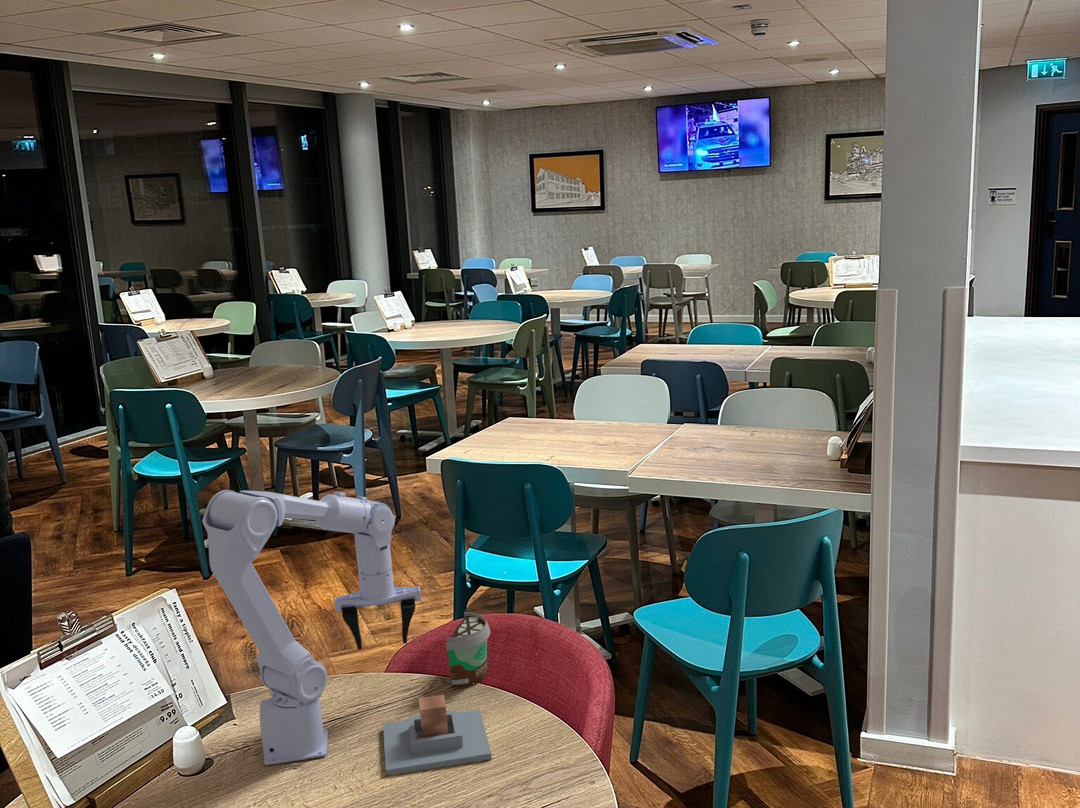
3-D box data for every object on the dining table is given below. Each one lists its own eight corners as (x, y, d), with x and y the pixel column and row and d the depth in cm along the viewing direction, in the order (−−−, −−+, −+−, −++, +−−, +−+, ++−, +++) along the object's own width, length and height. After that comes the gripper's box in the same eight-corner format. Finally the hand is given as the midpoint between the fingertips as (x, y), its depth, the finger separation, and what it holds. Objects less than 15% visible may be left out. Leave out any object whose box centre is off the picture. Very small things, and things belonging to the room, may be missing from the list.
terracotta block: (423, 745, 149) (420, 710, 148) (421, 732, 153) (418, 698, 152) (448, 741, 150) (445, 706, 149) (446, 729, 154) (443, 694, 153)
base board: (386, 776, 143) (384, 757, 143) (383, 729, 157) (382, 712, 156) (491, 759, 146) (490, 741, 146) (480, 714, 160) (478, 698, 159)
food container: (483, 693, 167) (479, 640, 165) (449, 692, 168) (445, 639, 166) (500, 661, 179) (496, 611, 177) (468, 660, 180) (464, 610, 178)
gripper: (416, 556, 167) (422, 629, 170) (332, 566, 165) (340, 640, 167) (419, 570, 161) (425, 645, 163) (331, 580, 158) (339, 657, 161)
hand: (382, 644), depth 165 cm, fingers open, 7 cm apart
